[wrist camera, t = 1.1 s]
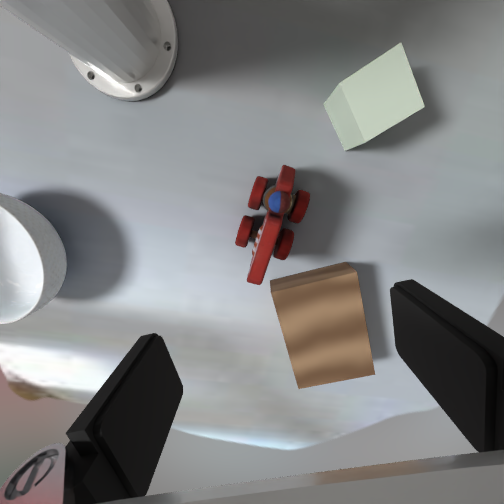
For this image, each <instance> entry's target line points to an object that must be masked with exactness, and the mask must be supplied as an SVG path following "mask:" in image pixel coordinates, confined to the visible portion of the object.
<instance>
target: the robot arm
mask: <svg viewBox="0 0 504 504" xmlns="http://www.w3.org/2000/svg"><path fill="white" fill-rule="evenodd" d="M0 6H1V7H2V8H4V9H5V10H7V11H8V12H10V13H11V14H12V15H14V16H15V17H17V18H18V19H20V20H21V21H23V22H24V23H26V24H27V25H28V26H30V27H31V28H33V29H34V30H36V31H37V32H39V33H40V34H42V35H43V36H44V37H46V38H47V39H49V40H50V41H52V42H53V43H55V44H56V45H58V46H59V47H61V48H62V49H63V50H65V51H66V52H68V53H69V55H70V57H71V59H72V61H73V63H74V65H75V66H76V68H77V69H78V71H79V72H80V73H81V75H82V76H83V77H84V78H85V79H86V80H87V81H88V82H89V83H90V84H91V85H92V86H94V87H95V88H96V89H98V90H99V91H101V92H102V93H104V94H106V95H108V96H110V97H113V98H115V99H118V100H124V101H138V100H141V99H145V98H148V97H149V96H151V95H153V94H155V93H156V92H157V91H158V90H159V89H160V88H161V87H163V85H164V84H165V83H166V81H167V80H168V78H169V77H170V75H171V73H172V70H173V68H174V65H175V61H176V57H177V50H178V35H177V27H176V23H175V18H174V15H173V13H172V10H171V7H170V5H169V3H168V1H167V0H0ZM169 49H171V50H170V51H169ZM141 89H142V91H141V92H140V90H141ZM390 296H391V306H392V316H393V326H394V336H395V346H396V349H397V352H398V354H399V355H400V357H401V358H402V359H403V361H404V362H405V363H406V364H407V366H408V367H409V368H410V369H411V370H412V372H413V373H414V374H415V375H416V377H417V378H418V379H419V380H420V382H421V383H422V384H423V385H424V387H425V388H426V389H427V390H428V391H429V393H430V394H431V395H432V396H433V398H434V399H435V400H436V401H437V403H438V404H439V405H440V406H441V408H442V409H443V410H444V411H445V412H446V414H447V415H448V416H449V417H450V419H451V420H452V421H453V422H454V424H455V425H456V426H457V427H458V429H459V430H460V431H461V432H462V434H463V435H464V436H465V437H466V439H467V440H468V441H469V442H470V443H471V445H472V446H473V447H474V448H475V449H476V450H477V451H478V452H479V453H470V454H461V455H452V456H442V457H434V458H427V459H418V460H410V461H403V462H395V463H388V464H380V465H372V466H363V467H356V468H348V469H340V470H332V471H325V472H317V473H310V474H302V475H295V476H287V477H280V478H272V479H265V480H258V481H250V482H243V483H236V484H229V485H221V486H214V487H206V488H199V489H192V490H185V491H178V492H171V493H164V494H157V495H150V496H145V495H146V493H147V491H148V489H149V486H150V483H151V480H152V477H153V475H154V472H155V469H156V467H157V464H158V461H159V458H160V456H161V453H162V450H163V447H164V444H165V442H166V439H167V436H168V433H169V430H170V428H171V425H172V422H173V420H174V417H175V414H176V411H177V409H178V406H179V403H180V400H181V398H182V395H183V385H182V383H181V380H180V378H179V376H178V373H177V371H176V368H175V366H174V364H173V361H172V359H171V357H170V354H169V352H168V350H167V347H166V345H165V342H164V340H163V338H162V337H161V336H158V334H156V333H153V334H148V335H143V336H141V337H140V338H139V339H138V340H137V342H136V343H135V344H134V346H133V347H132V348H131V349H130V351H129V352H128V353H127V355H126V356H125V357H124V358H123V360H122V361H121V362H120V364H119V365H118V366H117V368H116V369H115V370H114V371H113V373H112V374H111V375H110V377H109V378H108V379H107V380H106V382H105V383H104V384H103V386H102V387H101V388H100V390H99V391H98V392H97V393H96V395H95V396H94V397H93V399H92V400H91V401H90V402H89V404H88V405H87V406H86V408H85V409H84V410H83V411H82V413H81V414H80V415H79V417H78V418H77V419H76V421H75V422H74V423H73V424H72V426H71V427H70V428H69V430H68V431H67V432H66V434H67V436H68V438H69V439H70V442H69V443H68V444H67V446H66V447H65V445H63V444H61V443H54V444H51V445H49V446H46V447H44V448H42V449H41V450H39V451H37V452H36V453H34V454H33V455H32V456H30V457H29V458H28V459H26V460H25V461H24V462H23V463H22V464H21V465H20V466H19V467H18V468H16V470H15V471H14V472H13V473H12V474H11V475H10V476H9V477H8V478H7V480H6V481H5V483H4V484H3V486H2V487H1V488H0V504H504V337H503V336H501V335H500V334H498V333H497V332H495V331H493V330H492V329H490V328H489V327H487V326H486V325H484V324H482V323H481V322H479V321H478V320H476V319H474V318H473V317H471V316H470V315H468V314H467V313H465V312H463V311H462V310H460V309H459V308H457V307H456V306H454V305H452V304H451V303H449V302H448V301H446V300H444V299H443V298H441V297H440V296H438V295H437V294H435V293H433V292H432V291H430V290H429V289H427V288H426V287H424V286H422V285H421V284H419V283H418V282H416V281H414V280H412V279H411V280H406V281H401V282H396V283H395V284H394V287H391V289H390Z"/></svg>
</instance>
